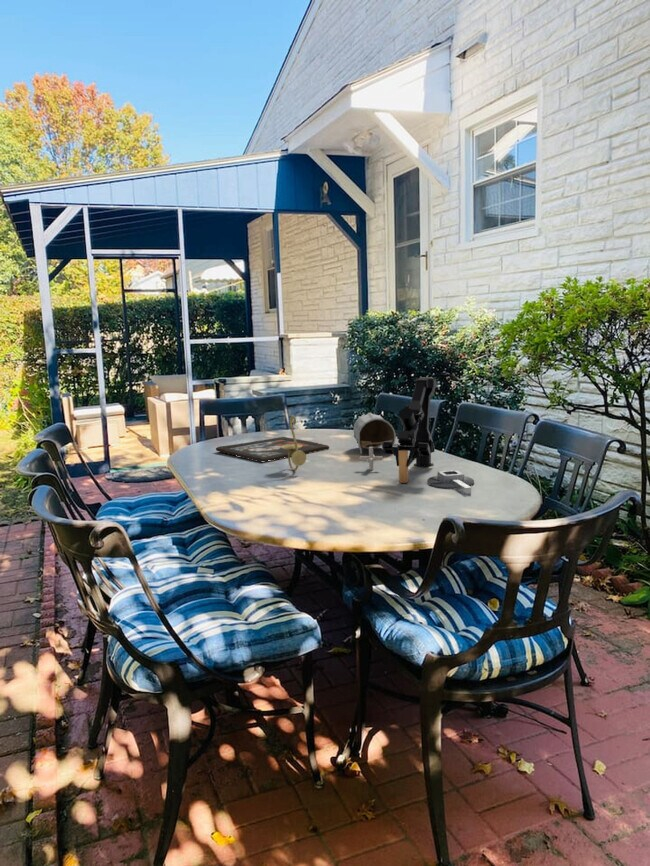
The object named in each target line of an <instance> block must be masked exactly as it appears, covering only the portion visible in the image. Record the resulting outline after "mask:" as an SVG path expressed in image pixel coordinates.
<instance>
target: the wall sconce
mask: <svg viewBox="0 0 650 866" xmlns="http://www.w3.org/2000/svg"><path fill="white" fill-rule="evenodd" d="M296 424H297V419H296V416H295V415H294V414H293V415H292V414H291V415H290V418H289V425H290V431H291V435H292V438H293V439H294V443H295V444H289V445H283V446H281V448H283V449H289V450H288V458H287V462H288V465H289V468H290V469H291V470H292V471H293V470H294V471H293V472H296V471H297V470H298V468H299V467H300V466H303V465H304V464H305V463H306V461H307V454H305V453H304V452H303V451H300V450H298V448H301V447H302V445H299V444H297V442H296V439H297V438H296V435H295V434H296V433H295V431H294V427H293V425H295V426H296ZM293 449H296V452H294V450H293ZM290 452H291V456H292V457H290ZM292 452H293V454H292ZM292 463H293V465H295V468H294V467H293V465H292Z"/></svg>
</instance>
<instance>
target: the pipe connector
mask: <svg viewBox="0 0 650 866" xmlns="http://www.w3.org/2000/svg"><path fill="white" fill-rule="evenodd" d="M359 461H367V463H369V466H368V468H369V471H373V470H374V461H384V457H383V456H382V455H381V456H379V455H376V456H375V454H374V449H373V447H369V449H368V455H365V456H363V455H359Z"/></svg>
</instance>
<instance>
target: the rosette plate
mask: <svg viewBox="0 0 650 866" xmlns="http://www.w3.org/2000/svg"><path fill="white" fill-rule="evenodd" d="M436 474H437V475H434V476H431V477H429V478H428V479H427V484H428V485H429V486H431V487H435V488H440V489H454V488H456V490H458V491H459V492H460V493H462V494H463V495H472V486H473V485H474V484H475V480H474V478H471V477H470V476H466V475H465V474H464V473H462V472H461V471H459V470H457V469H453V470H452V469H450V470H438V471H437V473H436ZM471 485H472V486H471Z"/></svg>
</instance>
